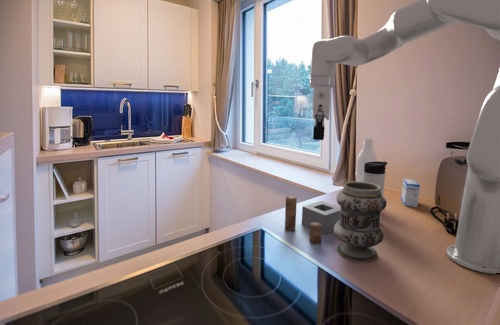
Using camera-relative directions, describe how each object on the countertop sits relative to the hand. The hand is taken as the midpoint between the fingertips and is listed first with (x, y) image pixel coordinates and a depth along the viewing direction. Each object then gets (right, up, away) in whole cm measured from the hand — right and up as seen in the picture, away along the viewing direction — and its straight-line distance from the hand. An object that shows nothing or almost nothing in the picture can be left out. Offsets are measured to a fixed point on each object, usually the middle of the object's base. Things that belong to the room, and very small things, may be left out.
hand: (318, 137), depth 97 cm
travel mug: (+17, -28, 0) cm, 32 cm away
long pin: (-10, -28, -5) cm, 30 cm away
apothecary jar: (+6, -31, -19) cm, 37 cm away
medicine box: (+39, -24, +19) cm, 49 cm away
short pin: (-4, -30, -13) cm, 33 cm away
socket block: (+1, -28, -3) cm, 28 cm away
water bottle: (+21, -24, +18) cm, 36 cm away
